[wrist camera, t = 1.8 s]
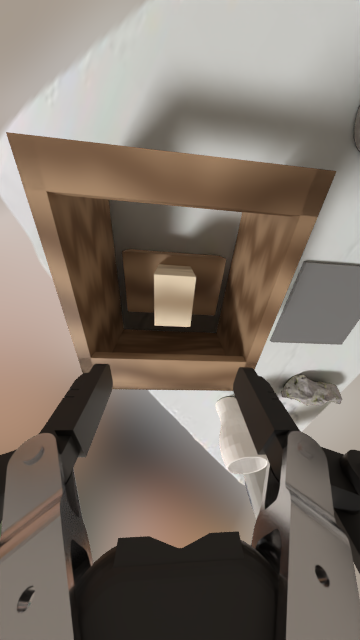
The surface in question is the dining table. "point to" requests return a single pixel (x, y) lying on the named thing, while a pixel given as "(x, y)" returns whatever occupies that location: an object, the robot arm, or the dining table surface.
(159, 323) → the block
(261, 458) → the cup
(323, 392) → the rock
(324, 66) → the dining table surface
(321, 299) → the mat
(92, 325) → the access box
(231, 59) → the dining table surface
